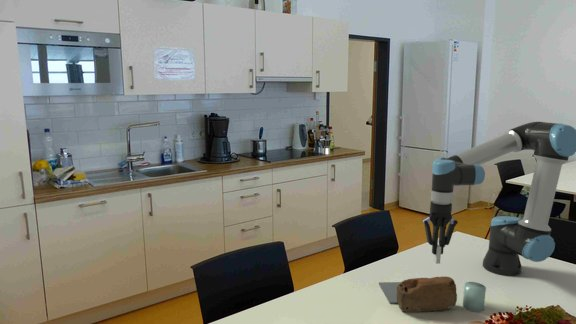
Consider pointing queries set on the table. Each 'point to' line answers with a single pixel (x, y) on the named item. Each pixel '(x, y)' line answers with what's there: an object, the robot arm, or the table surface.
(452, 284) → the brown sandstone rock
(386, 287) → the mat
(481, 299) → the pale blue rounded cylinder
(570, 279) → the table surface
